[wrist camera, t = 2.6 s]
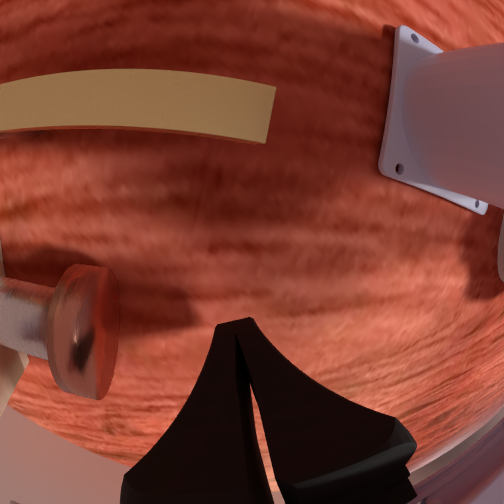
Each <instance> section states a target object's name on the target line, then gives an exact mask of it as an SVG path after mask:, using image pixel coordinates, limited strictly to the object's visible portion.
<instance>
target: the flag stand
mask: <svg viewBox="0 0 504 504" xmlns="http://www.w3.org/2000/svg"><path fill="white" fill-rule="evenodd" d="M497 265H498V273H499V276H500V279H501V280H502V281H503V282H504V215H503V220H502V225H501V230H500V237H499V244H498V259H497Z"/></svg>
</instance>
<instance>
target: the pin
mask: <svg viewBox="0 0 504 504" xmlns="http://www.w3.org/2000/svg"><path fill="white" fill-rule="evenodd" d="M119 322H120V305H119V291H118V284H117V280H116V277H115V274H114V272H113V271H112V269H110V268H105V267H98V266H91V265H84V264H74V265H72V266H70V267H69V268H68V269H67V270H66V271H65V272H64V273H63V275H62V276H61V278H60V280H59V282H58V284H57V286H56V287H51V286H46V285H41V284H36V283H31V282H26V281H22V280H17V279H13V278H9V277H4V276H0V345H3V346H6V347H8V348H11V349H14V350H17V351H20V352H23V353H26V354H29V355H32V356H35V357H38V358H42V359H45V360H48V362H49V366H50V370H51V373H52V375H53V378H54V380H55V382H56V383H57V385H58V386H59V387H60V389H61V390H63V391H64V392H67V393H70V394H74V395H78V396H82V397H86V398H90V399H95V400H101V399H103V398H104V397H105V395H106V394H107V392H108V390H109V387H110V385H111V381H112V378H113V374H114V369H115V364H116V357H117V350H118V340H119Z"/></svg>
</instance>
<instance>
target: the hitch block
mask: <svg viewBox="0 0 504 504" xmlns="http://www.w3.org/2000/svg"><path fill="white" fill-rule="evenodd" d="M0 276H4V277H6V275H5V270H4V263H3V257H2V249H1V241H0ZM28 363H29V358H28V356H27V354H26V353H23V352H20V351H17V350H14V349H11V348H8V347H6V346H3V345H0V417H1V415H2V413H3V411H4V409H5V407H6V405H7V403H8V400H9V398H10V396H11V394H12V392H13V391H14V389H15V387H16V385H17V383H18V381H19V379H20V377H21V376H22V374H23V372H24V370H25V368H26V367H27V365H28Z"/></svg>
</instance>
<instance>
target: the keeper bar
mask: <svg viewBox="0 0 504 504" xmlns="http://www.w3.org/2000/svg"><path fill="white" fill-rule="evenodd" d="M275 92H276V87H274V86H270V85H266V84H261V83H256V82H252V81H247V80H241V79H236V78H230V77H224V76H217V75H210V74H202V73H194V72H184V71H172V70H155V69H100V70H84V71H73V72H64V73H56V74H49V75H42V76H36V77H31V78H26V79H21V80H16V81H12V82H8V83H3V84H0V139H8V138H28V137H36V136H38V135H40V134H41V133H42V132H43V131H44V130H52V129H118V130H138V131H152V132H164V133H174V134H183V135H192V136H200V137H207V138H214V139H221V140H228V141H234V142H240V143H245V144H251V145H252V144H265V143H266V138H267V133H268V128H269V123H270V118H271V113H272V107H273V102H274V97H275Z"/></svg>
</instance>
